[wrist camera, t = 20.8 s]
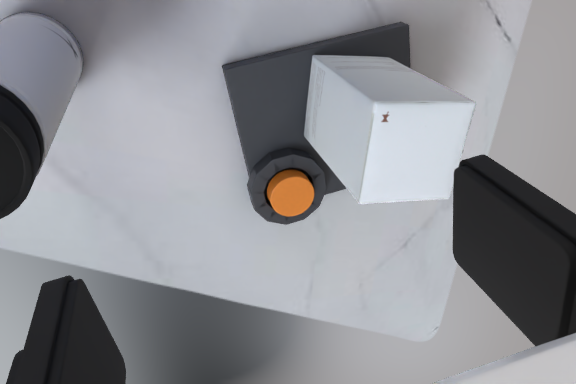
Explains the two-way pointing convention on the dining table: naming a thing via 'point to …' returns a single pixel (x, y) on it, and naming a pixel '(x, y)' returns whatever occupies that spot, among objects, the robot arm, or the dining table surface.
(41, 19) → the travel mug
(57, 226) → the dining table surface
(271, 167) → the scale
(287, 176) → the button
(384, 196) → the white packaging box
